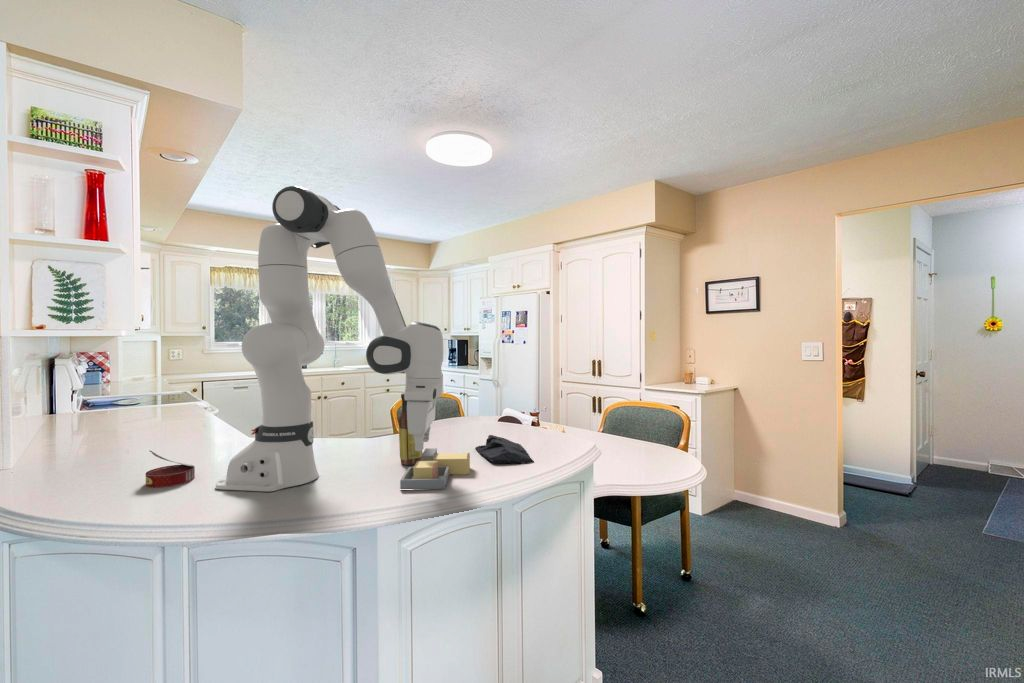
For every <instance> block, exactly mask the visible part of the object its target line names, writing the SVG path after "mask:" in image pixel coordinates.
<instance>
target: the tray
mask: <svg viewBox="0 0 1024 683" xmlns="http://www.w3.org/2000/svg"><path fill="white" fill-rule="evenodd" d="M413 468H414V466H409V467H408V468H407V469H406V470H405V471H404V472H405V473H404V474H403V475H402V476H401V478H400V480H399V486H400V487H399V488H400V489H445V490H446V488H445V487H447V484H448V481H449V478H450V475H449V466H438V478H437V479H413ZM448 477H449V478H448ZM447 480H448V481H447ZM446 483H447V484H446ZM400 489H399V490H400Z"/></svg>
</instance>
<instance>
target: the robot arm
mask: <svg viewBox="0 0 1024 683" xmlns="http://www.w3.org/2000/svg"><path fill="white" fill-rule="evenodd" d="M271 206H272V213H273V217H274V218H275V220H276V221H277V223H275V222H274V223H271V224H268V225H267V226H265V227H264V228H263V229H262V230H261V233H260V237H259V238H260V239H259V243H258V244H259V245H258V252H257V253H258V254H257V256H258V257H257V258H258V259H257V265H258V266H257V268H258V272H257V273H258V288H259V289H258V291H259V292H258V293H259V300H260V301H261V303H262V305H263V306H264V308H265V309H266V311H267V313H268V316H269V318H270V322H269V323H263V324H260V325H258V326H257V325H256V326H254V327H252V328H250V329H249V330H248V331H247V332H246V333H245V334H244V336H243V338H242V340H241V352H242V355H243V357H244V359H245V360H246V361H247V362H248V363H249V364H250V365H251V366H252V368H253V370H254V373H255V375H256V379H257V383H258V384H259V390H260V396H261V418H262V419H261V422H262V424H260V425H258V426H257V427H255V428H254V429H251V430H250V431H251V435H254V436H255V437H254V440H253V441H252V442H251V443H249V444H248V445H247V446H246V447H244V448H243V449H241V450H240V451H239V452H238V453H236V454H235V455H234V456H233V457H232V458H231V459H230V460H229V463H228V466H227V472H226V475H225V476H223V477H222V478H220V479H218V480H217V482H216V483H215V490H229V491H247V492H248V491H250V492H268V493H270V492H277V491H280V490H282V489H286V488H290V487H291V488H292V487H296V486H300V485H304V484H307V483H310V482H312V481H315V480H316V479H317V478H319V476H320V474H319V471H318V469H317V464H316V461H315V455H314V454H315V453H314V447H313V443H314V438H315V437H314V436H315V432H314V431H315V430H314V421H312V392H311V389H310V387H309V386H308V384H307V383H306V380H305V378H304V374H303V371H302V367H304V366H308V365H310V364H312V363H313V362H315V361H316V360H319V358H320V357H322V355H323V353H324V351H325V339H324V337H323V335H322V334H321V333H320V331H319V330H318V327H317V323H316V321H315V316H314V312H313V309H312V306H311V301H310V291H309V275H308V274H309V273H308V272H309V270H308V252H309V249H310V248H313V249H319V248H322V247H324V246H328V245H330V247H331V249H332V253H333V256H334V259H335V262H336V265H337V269H338V271H339V272H340V276H341V277H342V279H343V280H344V282H345V284H346V285H347V287H349V288H350V289H352V290H353V291H354V292H356V293H357V294H358V295H359V296H361V297H362V298H363V299H364V300H365V301H366V302H367V303H368V304H369V305H370V307H371V308H372V310H373V311H374V315H375V317H376V320H377V321H378V324H379V328H380V329H381V332H382V335H381V336H378V337H377V336H376V337H375V338H373V340H371V341H370V343H369V344H368V345H367V348H366V354H365V357H366V363H367V364H368V366H369V367H370V368H371V370H372V371H374V372H375V373H378V374H381V375H386V376H387V375H395V374H405V390H404V392H403V393H404V399H405V400H408V401H407V426H408V432H409V434H412V435H414V441H415V451H422V452H423V450H424V446H425V445H424V443H428V442H429V440H430V434H431V433H430V431H431V428H432V427H431V425H432V424H433V422H434V421H435V419H436V405H437V402H438V401H437V399H438V398H441V397H443V383H444V382H443V380H444V378H443V371H442V367H443V366H442V364H443V362H444V338H443V333H442V330H441V329H440V328H439V327H438V326H437V325H433V324H429V323H425V322H421V321H413V322H410V323H409V324H406V323H405V319H404V317H403V314H402V311H401V309H400V306H399V303H398V301H397V299H396V298H397V297H396V295H395V293H394V290H393V288H392V284H391V281H390V277H389V273H388V270H387V267H386V262H385V260H384V259H385V258H384V256H383V252H382V249H381V246H380V243H379V241H378V238H377V235H376V233H375V231H374V228H373V226H372V224H371V223H370V220H369V219H368V218H367V216H366V214H364V213H363V212H362V211H360V210H358V209H354V208H346V209H345V208H344V209H342V210H341V208H339V206H337V205H335V204H333V202H331V201H329V199H328V198H325V197H324V196H322V195H319V194H317V193H315V192H313V191H311V190H310V189H307V188H305V187H302V186H297V185H290V186H285V187H283V188H282V189H280V190H279V191H278V192H277V193H276V195H274V197H273V200H272V205H271Z"/></svg>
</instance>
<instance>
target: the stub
mask: <svg viewBox="0 0 1024 683" xmlns="http://www.w3.org/2000/svg"><path fill="white" fill-rule="evenodd" d="M413 467H414V468H413V479H437V478H438V461H417V463H416V464H415V465H413Z"/></svg>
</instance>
